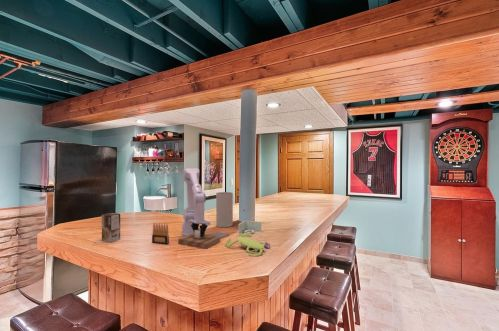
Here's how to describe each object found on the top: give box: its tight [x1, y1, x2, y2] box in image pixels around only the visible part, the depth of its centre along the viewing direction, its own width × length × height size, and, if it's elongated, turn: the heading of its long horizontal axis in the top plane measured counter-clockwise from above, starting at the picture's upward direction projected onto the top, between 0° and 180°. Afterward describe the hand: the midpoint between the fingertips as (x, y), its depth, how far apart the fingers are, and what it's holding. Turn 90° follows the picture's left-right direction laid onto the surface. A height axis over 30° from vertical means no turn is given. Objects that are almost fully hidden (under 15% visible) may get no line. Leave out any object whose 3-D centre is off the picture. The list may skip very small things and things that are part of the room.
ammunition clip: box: [151, 222, 170, 246], centre depth 143 cm, size 11×2×12 cm, turn 74°
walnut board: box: [177, 233, 221, 250], centre depth 144 cm, size 20×14×3 cm
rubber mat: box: [210, 231, 230, 240], centre depth 160 cm, size 10×10×1 cm
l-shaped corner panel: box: [238, 220, 262, 235], centre depth 166 cm, size 12×12×8 cm
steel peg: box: [195, 227, 204, 240], centre depth 144 cm, size 4×4×8 cm
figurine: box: [224, 232, 271, 258], centre depth 137 cm, size 18×27×6 cm
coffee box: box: [101, 212, 121, 243], centre depth 150 cm, size 9×6×16 cm
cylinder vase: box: [215, 191, 234, 228], centre depth 186 cm, size 12×12×25 cm
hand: (199, 236), depth 144 cm, fingers closed on steel peg, 4 cm apart
